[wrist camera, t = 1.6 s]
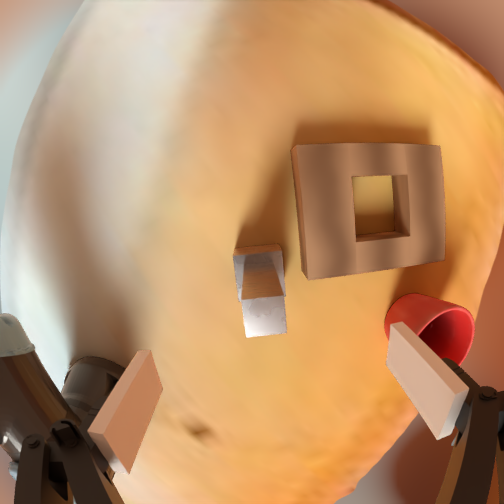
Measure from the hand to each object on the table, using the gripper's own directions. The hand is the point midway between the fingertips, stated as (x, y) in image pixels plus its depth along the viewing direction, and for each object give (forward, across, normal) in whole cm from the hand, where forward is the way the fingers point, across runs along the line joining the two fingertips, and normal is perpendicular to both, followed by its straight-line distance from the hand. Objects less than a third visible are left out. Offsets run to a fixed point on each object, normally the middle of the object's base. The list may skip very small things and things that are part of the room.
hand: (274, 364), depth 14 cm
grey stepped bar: (+20, 0, 0) cm, 20 cm away
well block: (+20, +14, +6) cm, 25 cm away
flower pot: (+20, +20, -10) cm, 30 cm away
